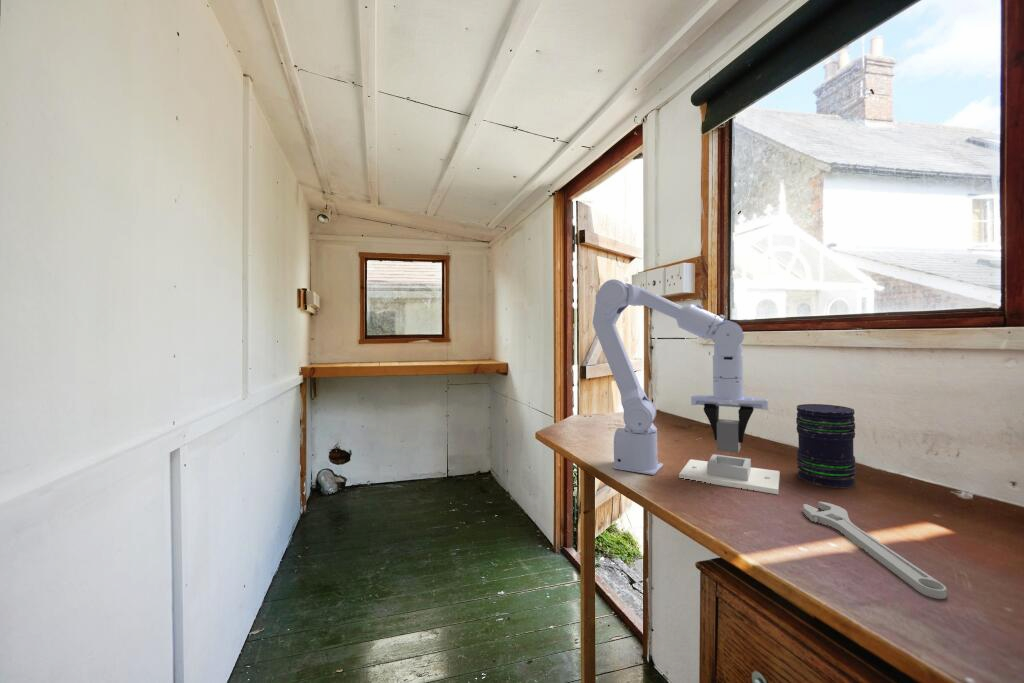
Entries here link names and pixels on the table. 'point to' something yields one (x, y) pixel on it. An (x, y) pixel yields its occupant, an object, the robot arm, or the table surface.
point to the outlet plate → (732, 473)
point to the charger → (728, 435)
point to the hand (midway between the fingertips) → (728, 440)
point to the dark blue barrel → (826, 445)
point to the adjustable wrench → (876, 549)
